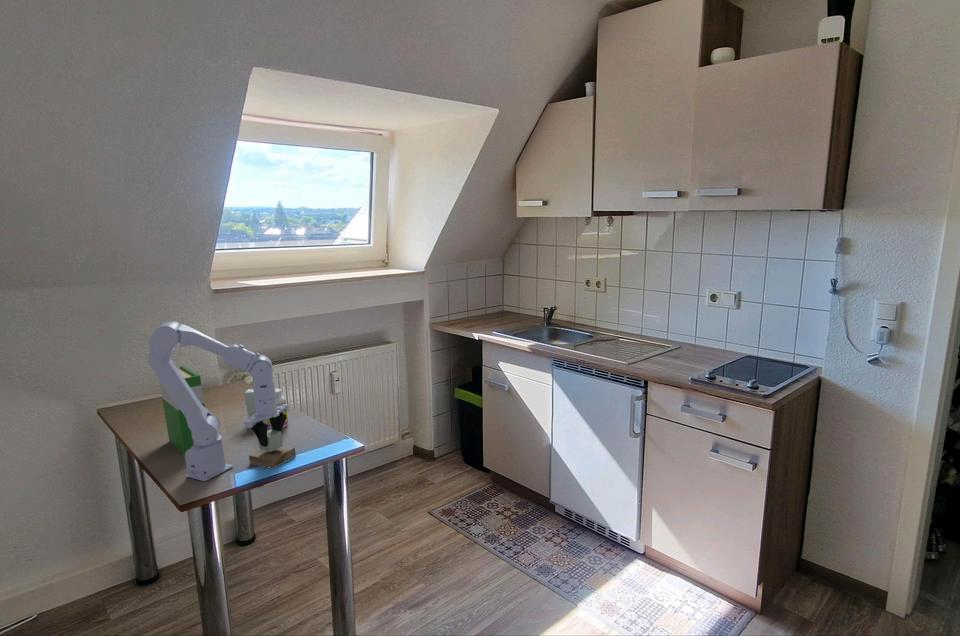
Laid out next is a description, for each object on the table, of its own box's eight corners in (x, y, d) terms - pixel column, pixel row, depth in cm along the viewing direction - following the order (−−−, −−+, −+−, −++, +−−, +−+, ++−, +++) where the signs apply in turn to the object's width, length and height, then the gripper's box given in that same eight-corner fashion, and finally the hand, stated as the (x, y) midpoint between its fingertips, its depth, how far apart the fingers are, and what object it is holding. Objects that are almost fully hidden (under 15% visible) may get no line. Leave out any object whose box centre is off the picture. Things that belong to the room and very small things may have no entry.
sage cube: (270, 451, 159) (269, 437, 158) (259, 449, 161) (257, 435, 160) (282, 445, 163) (281, 431, 162) (271, 443, 165) (270, 429, 164)
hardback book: (169, 441, 180) (157, 370, 175) (193, 434, 185) (182, 365, 180) (185, 457, 167) (173, 381, 162) (211, 449, 172) (200, 375, 167)
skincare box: (270, 420, 195) (266, 387, 192) (266, 424, 190) (262, 391, 188) (252, 421, 194) (248, 388, 192) (248, 426, 190) (243, 392, 188)
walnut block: (272, 470, 156) (271, 460, 156) (250, 465, 160) (248, 455, 160) (296, 456, 164) (294, 447, 164) (273, 452, 168) (272, 443, 168)
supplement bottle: (266, 431, 184) (262, 394, 182) (268, 424, 191) (264, 388, 188) (287, 428, 186) (283, 392, 184) (289, 421, 192) (284, 386, 190)
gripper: (254, 408, 151) (261, 454, 153) (294, 391, 163) (299, 434, 166) (236, 405, 154) (243, 450, 156) (276, 389, 166) (282, 431, 169)
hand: (270, 442), depth 161 cm, fingers closed on sage cube, 4 cm apart
